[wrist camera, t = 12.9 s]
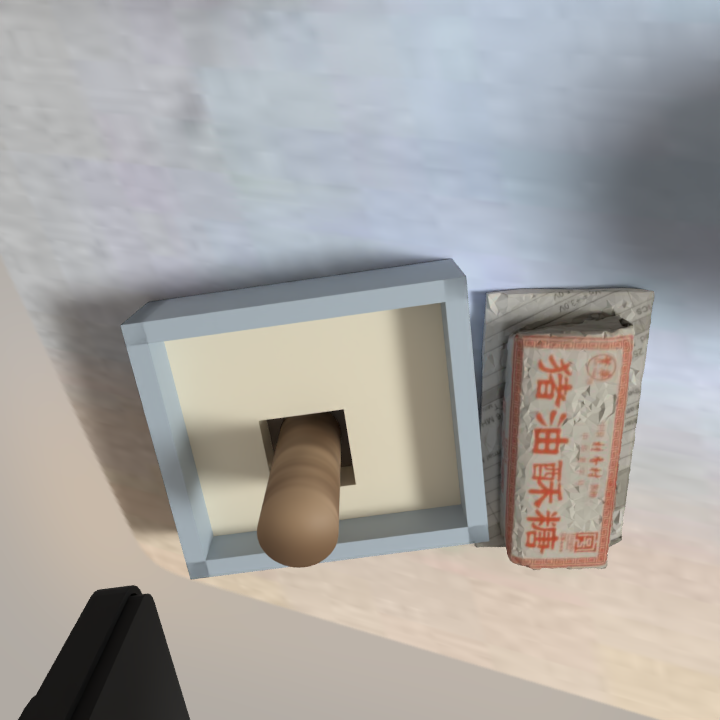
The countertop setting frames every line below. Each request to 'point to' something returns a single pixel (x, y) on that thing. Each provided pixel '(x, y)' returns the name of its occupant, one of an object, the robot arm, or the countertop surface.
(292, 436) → the dowel
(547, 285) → the countertop surface
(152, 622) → the robot arm
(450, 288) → the box
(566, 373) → the packaged product
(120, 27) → the countertop surface
